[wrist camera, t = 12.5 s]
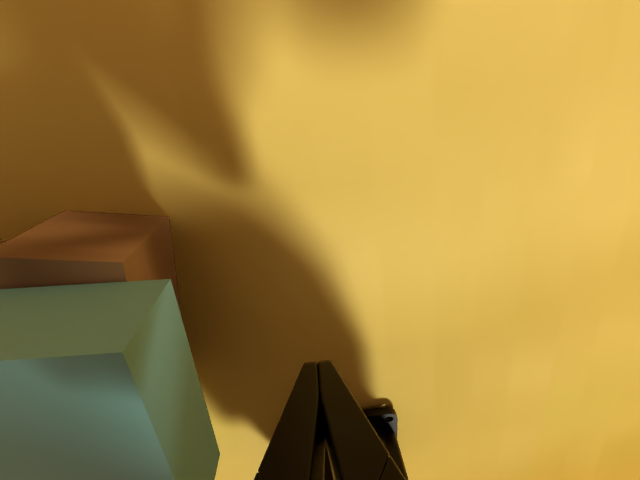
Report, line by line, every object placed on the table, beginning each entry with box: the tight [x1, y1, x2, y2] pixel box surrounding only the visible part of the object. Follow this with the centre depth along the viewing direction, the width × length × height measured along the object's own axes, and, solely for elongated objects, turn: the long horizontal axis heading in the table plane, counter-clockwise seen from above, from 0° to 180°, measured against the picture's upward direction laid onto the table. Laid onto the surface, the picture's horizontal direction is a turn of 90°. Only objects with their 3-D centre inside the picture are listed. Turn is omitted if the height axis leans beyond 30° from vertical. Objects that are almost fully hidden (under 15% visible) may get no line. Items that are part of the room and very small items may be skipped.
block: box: [0, 211, 182, 317], centre depth 13 cm, size 4×8×4 cm, turn 175°
